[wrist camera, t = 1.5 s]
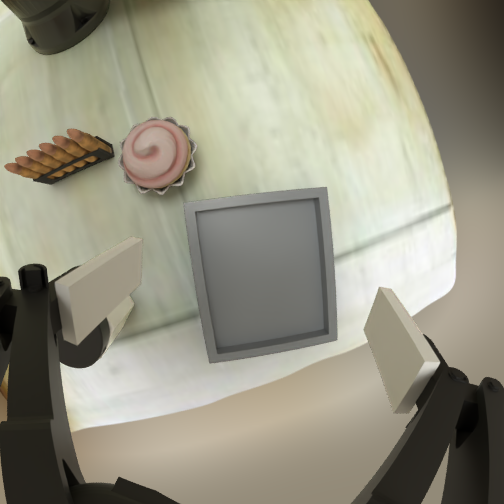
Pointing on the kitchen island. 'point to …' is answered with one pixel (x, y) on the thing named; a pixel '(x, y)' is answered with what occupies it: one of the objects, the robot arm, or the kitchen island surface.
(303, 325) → the tray
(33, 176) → the ammunition clip
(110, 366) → the kitchen island surface
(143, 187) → the cupcake
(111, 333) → the jar
